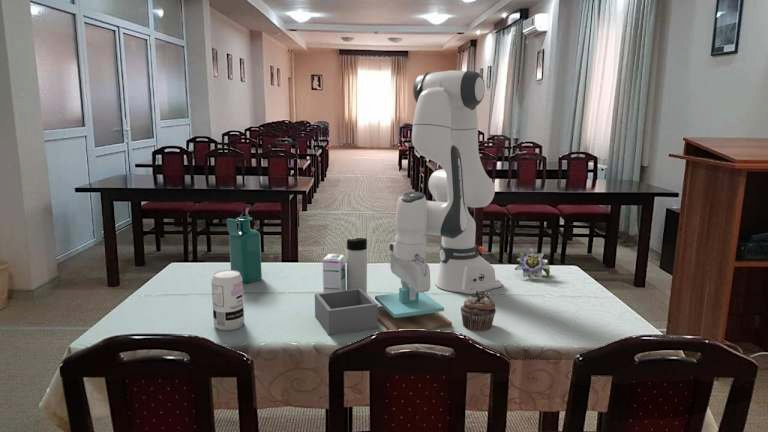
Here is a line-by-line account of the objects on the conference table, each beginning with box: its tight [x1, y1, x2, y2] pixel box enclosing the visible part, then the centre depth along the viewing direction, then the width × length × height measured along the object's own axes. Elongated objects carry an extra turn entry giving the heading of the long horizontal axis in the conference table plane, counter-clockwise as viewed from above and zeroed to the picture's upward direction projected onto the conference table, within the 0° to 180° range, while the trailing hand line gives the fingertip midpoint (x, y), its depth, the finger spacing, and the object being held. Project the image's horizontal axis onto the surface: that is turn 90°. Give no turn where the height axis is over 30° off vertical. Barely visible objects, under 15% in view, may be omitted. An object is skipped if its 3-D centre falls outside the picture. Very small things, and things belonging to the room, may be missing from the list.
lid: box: [374, 287, 445, 318], centre depth 165 cm, size 15×15×6 cm
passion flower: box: [514, 247, 551, 281], centre depth 205 cm, size 11×11×12 cm
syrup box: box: [322, 253, 347, 293], centre depth 178 cm, size 6×6×14 cm
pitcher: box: [225, 216, 263, 285], centre depth 196 cm, size 10×8×22 cm
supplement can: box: [210, 269, 245, 331], centre depth 159 cm, size 8×8×15 cm
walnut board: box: [377, 305, 453, 331], centre depth 166 cm, size 18×18×1 cm
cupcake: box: [460, 291, 497, 332], centre depth 161 cm, size 10×10×10 cm
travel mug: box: [346, 237, 368, 295], centre depth 179 cm, size 6×7×20 cm
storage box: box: [314, 288, 379, 336], centre depth 163 cm, size 14×14×7 cm
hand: (409, 297), depth 165 cm, fingers closed on lid, 2 cm apart
